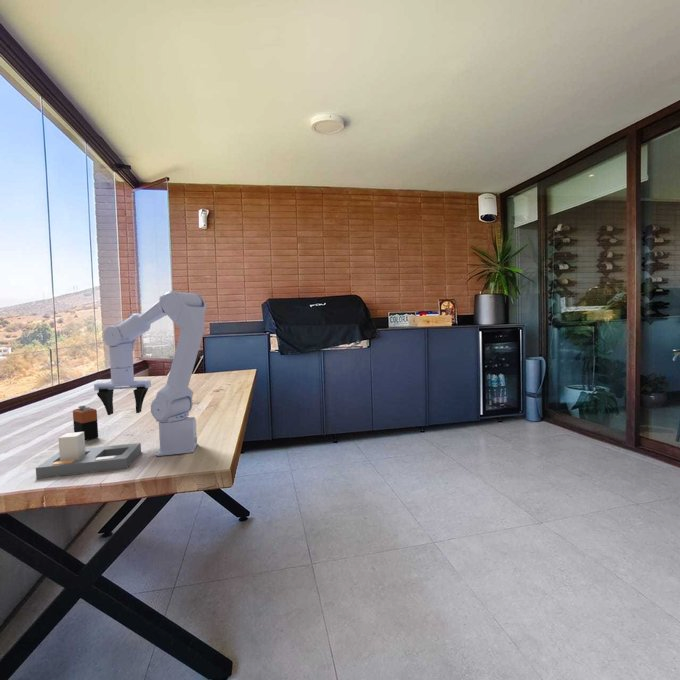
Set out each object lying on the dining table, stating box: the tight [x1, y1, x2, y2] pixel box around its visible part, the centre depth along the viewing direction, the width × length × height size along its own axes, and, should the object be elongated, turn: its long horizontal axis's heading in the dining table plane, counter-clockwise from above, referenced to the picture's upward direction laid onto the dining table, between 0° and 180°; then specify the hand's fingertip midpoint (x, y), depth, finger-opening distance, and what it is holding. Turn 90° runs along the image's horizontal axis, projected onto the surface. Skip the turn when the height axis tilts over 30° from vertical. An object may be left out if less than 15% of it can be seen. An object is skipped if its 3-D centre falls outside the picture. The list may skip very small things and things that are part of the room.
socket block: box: [35, 442, 142, 479], centre depth 92 cm, size 19×12×3 cm, turn 104°
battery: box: [72, 405, 99, 442], centre depth 115 cm, size 4×7×10 cm, turn 57°
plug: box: [57, 431, 86, 461], centre depth 91 cm, size 4×4×8 cm
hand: (124, 413), depth 106 cm, fingers open, 7 cm apart
